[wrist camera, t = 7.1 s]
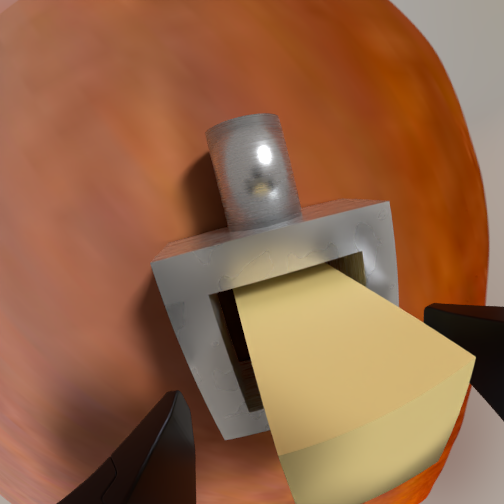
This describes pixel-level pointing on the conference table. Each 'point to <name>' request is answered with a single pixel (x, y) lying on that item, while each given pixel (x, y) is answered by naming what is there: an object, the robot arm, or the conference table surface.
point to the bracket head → (261, 259)
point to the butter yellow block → (349, 384)
